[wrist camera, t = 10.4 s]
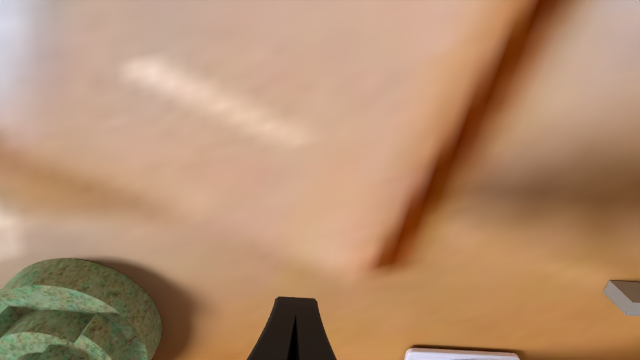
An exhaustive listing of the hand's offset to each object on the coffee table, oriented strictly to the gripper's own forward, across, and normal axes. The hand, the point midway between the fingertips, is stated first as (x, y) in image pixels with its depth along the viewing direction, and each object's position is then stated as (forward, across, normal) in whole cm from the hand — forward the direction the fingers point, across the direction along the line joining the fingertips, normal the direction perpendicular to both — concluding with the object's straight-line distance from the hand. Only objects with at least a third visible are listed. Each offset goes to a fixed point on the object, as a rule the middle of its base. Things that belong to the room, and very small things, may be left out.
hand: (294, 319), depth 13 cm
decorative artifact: (+10, +14, +10) cm, 20 cm away
